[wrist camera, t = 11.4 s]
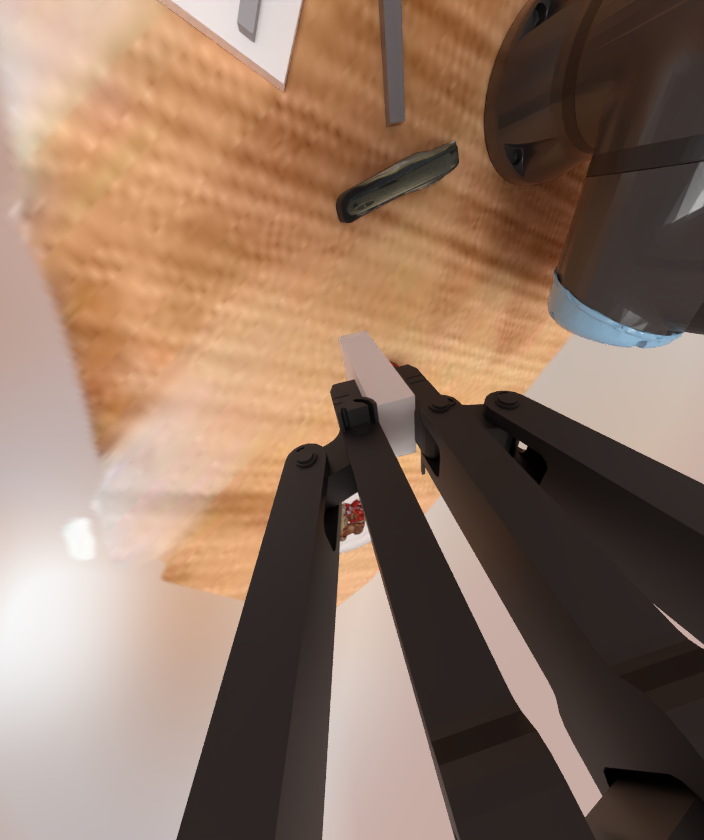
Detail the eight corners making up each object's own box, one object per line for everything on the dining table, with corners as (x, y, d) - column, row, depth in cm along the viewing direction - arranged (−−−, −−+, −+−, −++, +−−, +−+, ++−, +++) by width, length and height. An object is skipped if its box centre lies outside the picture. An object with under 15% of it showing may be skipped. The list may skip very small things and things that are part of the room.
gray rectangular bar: (399, 124, 29) (404, 120, 28) (385, 127, 29) (390, 123, 27) (391, -94, 21) (398, -114, 20) (372, -91, 21) (377, -111, 20)
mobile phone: (347, 229, 29) (479, 160, 28) (336, 196, 27) (477, 120, 26) (340, 227, 33) (456, 167, 32) (330, 198, 31) (452, 132, 30)
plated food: (255, 537, 67) (254, 550, 65) (326, 462, 57) (328, 474, 54) (345, 556, 83) (347, 567, 80) (414, 499, 72) (419, 510, 70)
